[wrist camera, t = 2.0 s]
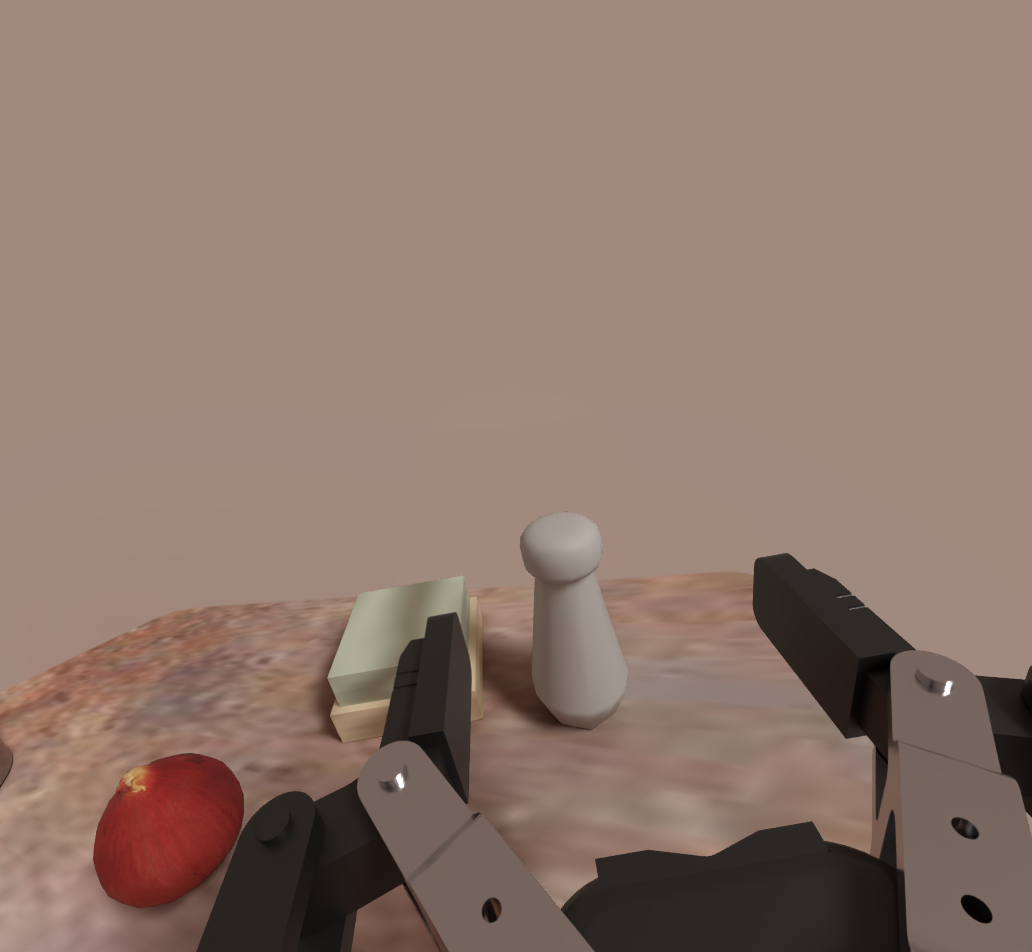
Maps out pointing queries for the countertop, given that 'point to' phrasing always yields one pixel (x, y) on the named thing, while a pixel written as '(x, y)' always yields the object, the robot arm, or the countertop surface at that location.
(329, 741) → the countertop surface
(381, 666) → the brick base
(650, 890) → the robot arm
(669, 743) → the countertop surface
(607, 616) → the salt shaker
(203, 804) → the onion
